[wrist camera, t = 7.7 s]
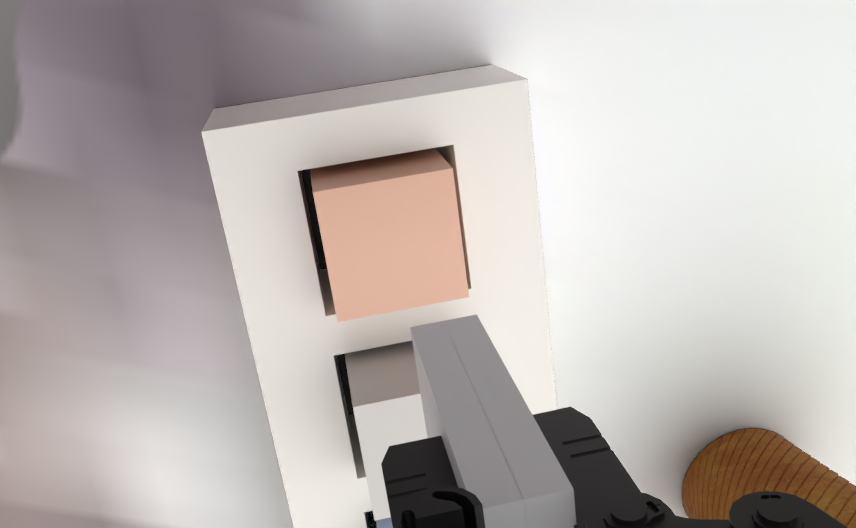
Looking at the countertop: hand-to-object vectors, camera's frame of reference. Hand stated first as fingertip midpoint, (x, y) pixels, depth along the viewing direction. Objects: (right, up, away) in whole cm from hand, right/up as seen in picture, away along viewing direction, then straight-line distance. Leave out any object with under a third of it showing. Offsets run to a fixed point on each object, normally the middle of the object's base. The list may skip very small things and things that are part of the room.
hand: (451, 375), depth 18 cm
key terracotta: (-3, +5, +15) cm, 16 cm away
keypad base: (-2, -1, +18) cm, 18 cm away
